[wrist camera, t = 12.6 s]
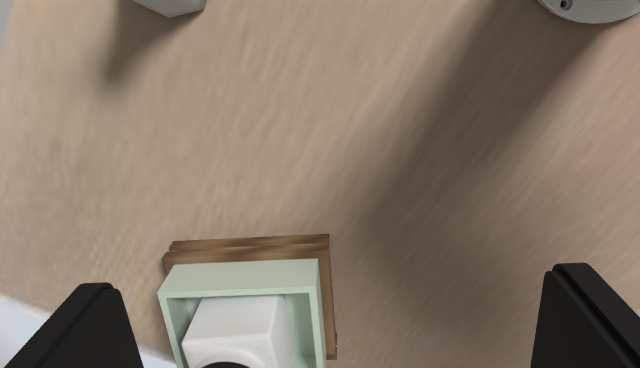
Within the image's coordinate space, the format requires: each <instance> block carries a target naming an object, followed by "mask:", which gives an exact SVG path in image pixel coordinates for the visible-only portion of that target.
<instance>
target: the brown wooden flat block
mask: <svg viewBox="0 0 640 368" xmlns="http://www.w3.org/2000/svg"><path fill="white" fill-rule="evenodd" d="M329 242H330V240H329V234H319V235H298V236H276V237H255V238H234V239H213V240H191V241H173V243H172V244H171V246H170V250H171V251H170V252H166V253H165V254H164V256H163V257H162V261H163V265H165V268H166V272H167V276H168V274H169V273H170V271H171V269H172V268H173V266H174V265H180V264H203V263H226V262H249V261H272V260H295V259H318V265H319V276H320V288H321V299H322V310H323V321H324V332H325V344H326V360H337V347H336V345H337V333H336V332H335V319H334V306H333V293H332V280H331V267H330V254H329Z"/></svg>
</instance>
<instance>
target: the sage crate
mask: <svg viewBox="0 0 640 368" xmlns="http://www.w3.org/2000/svg"><path fill="white" fill-rule="evenodd" d="M157 294H158V298H159V302H160V305H161V309H162V313H163V317H164V320H165V324H166V328H167V331H168V335H169V339H170V343H171V346H172V350H173V354H174V357H175V361H176V365H177V368H189V366H188V363H187V360H186V357H185V354H184V351H183V349H182V345H181V344H182V340H183V338H184V336H185V334H186V331H187V329H188V327H189V325H190V323H191V321H192V318H193V316H194V314H195V312H196V310H197V307H198V305H199V303H200V301H201V299H202V297H211V296H237V295H262V294H284V299H285V303H286V308H287V312H288V317H289V321H290V326H291V330H292V335H293V339H294V341H293V349H292V357H291V365H290V368H326V344H325V332H324V321H323V310H322V299H321V288H320V276H319V265H318V259H295V260H272V261H249V262H226V263H203V264H180V265H174V266H173V268H172V269H171V271H170V273H169V274H168V276H167V277H166V279H165V281H164V282H163V284H162V285H161V287H160V289H159V290H158V292H157Z"/></svg>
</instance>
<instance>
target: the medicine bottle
mask: <svg viewBox="0 0 640 368" xmlns="http://www.w3.org/2000/svg"><path fill="white" fill-rule="evenodd" d="M293 341H294V339H293V335H292V330H291V326H290V321H289V317H288V312H287V308H286V303H285V299H284V294H262V295H237V296H211V297H202V299H201V301H200V303H199V305H198V307H197V310H196V312H195V314H194V316H193V318H192V321H191V323H190V325H189V327H188V329H187V331H186V334H185V336H184V338H183V340H182V344H181V345H182V349H183V351H184V354H185V357H186V360H187V363H188V366H189V368H290V365H291V357H292V349H293Z"/></svg>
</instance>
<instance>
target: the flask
mask: <svg viewBox="0 0 640 368" xmlns="http://www.w3.org/2000/svg"><path fill="white" fill-rule="evenodd" d="M133 1H134V2H135V3H138V4H140V5H142V6H144V7H146V8H148V9H151V10H153V11H155V12H157V13H159V14H161V15H164V16H166V17H168V18H171V17H175V16H179V15H183V14H187V13H191V12H195V11H199V10H203V9H204V7H205V3H206V0H133Z"/></svg>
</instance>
